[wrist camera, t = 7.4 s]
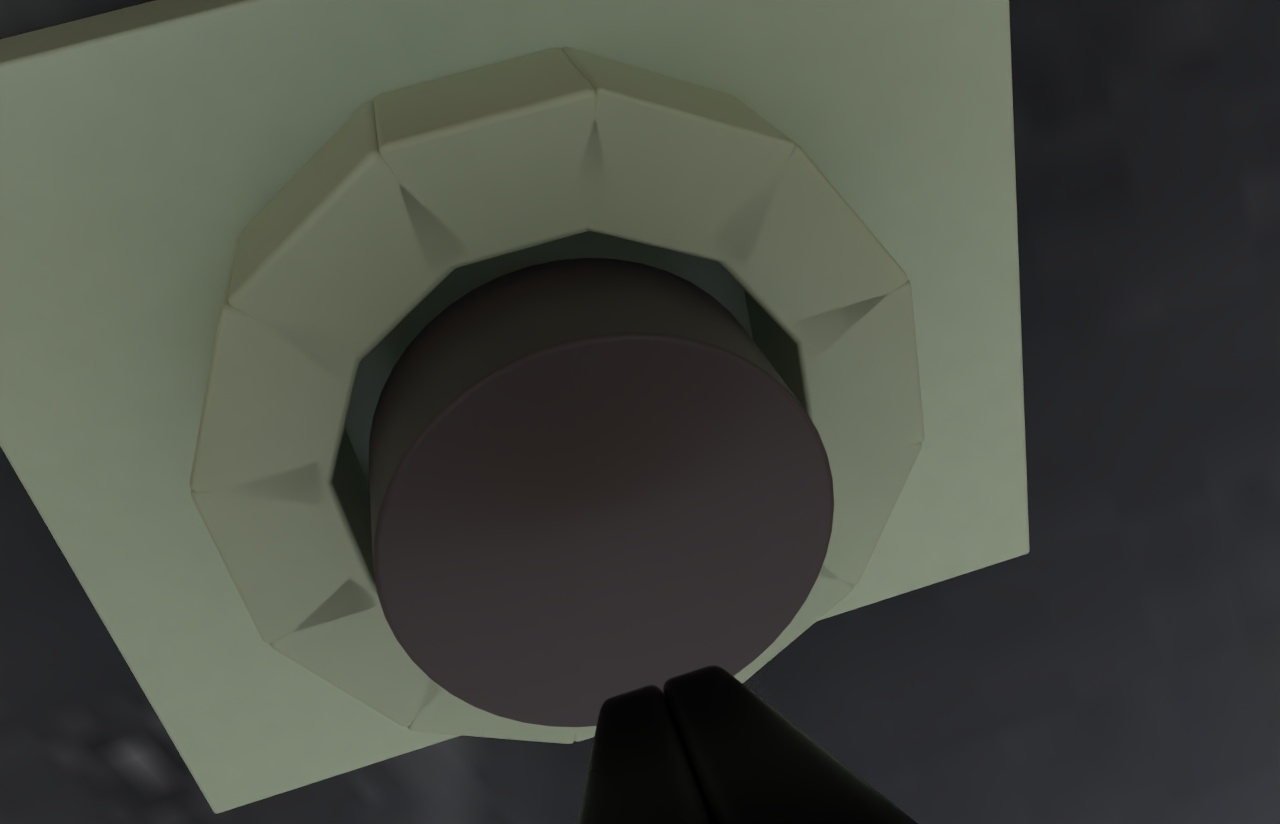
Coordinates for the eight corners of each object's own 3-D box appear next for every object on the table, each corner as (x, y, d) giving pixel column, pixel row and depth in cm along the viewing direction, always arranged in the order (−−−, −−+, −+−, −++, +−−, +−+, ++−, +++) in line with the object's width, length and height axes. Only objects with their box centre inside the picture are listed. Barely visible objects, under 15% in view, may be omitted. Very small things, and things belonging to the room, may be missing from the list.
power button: (438, 660, 12) (452, 783, 11) (306, 327, 10) (300, 420, 9) (796, 547, 12) (858, 650, 11) (739, 204, 10) (806, 274, 9)
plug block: (226, 721, 16) (199, 941, 13) (-129, 70, 11) (-297, 174, 8) (972, 488, 17) (1109, 639, 14) (925, -195, 12) (1114, -189, 9)
